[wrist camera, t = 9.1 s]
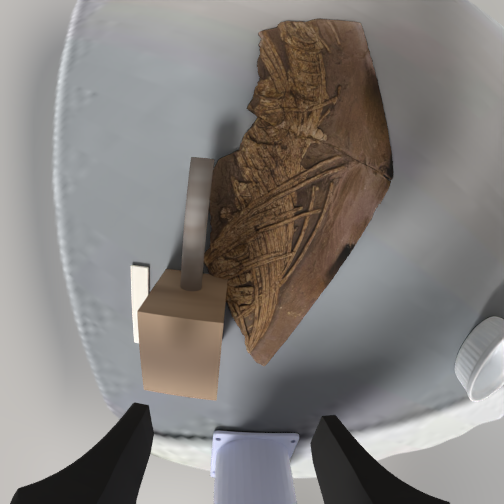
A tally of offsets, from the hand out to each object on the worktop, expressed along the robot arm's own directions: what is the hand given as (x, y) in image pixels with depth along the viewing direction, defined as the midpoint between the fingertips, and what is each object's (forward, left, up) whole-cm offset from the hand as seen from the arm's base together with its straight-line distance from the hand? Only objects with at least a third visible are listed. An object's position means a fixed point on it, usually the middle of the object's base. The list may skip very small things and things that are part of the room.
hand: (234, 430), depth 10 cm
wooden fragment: (+9, -3, -10) cm, 14 cm away
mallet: (+4, +3, -9) cm, 11 cm away
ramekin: (-3, -26, -10) cm, 28 cm away
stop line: (0, +7, -9) cm, 11 cm away
